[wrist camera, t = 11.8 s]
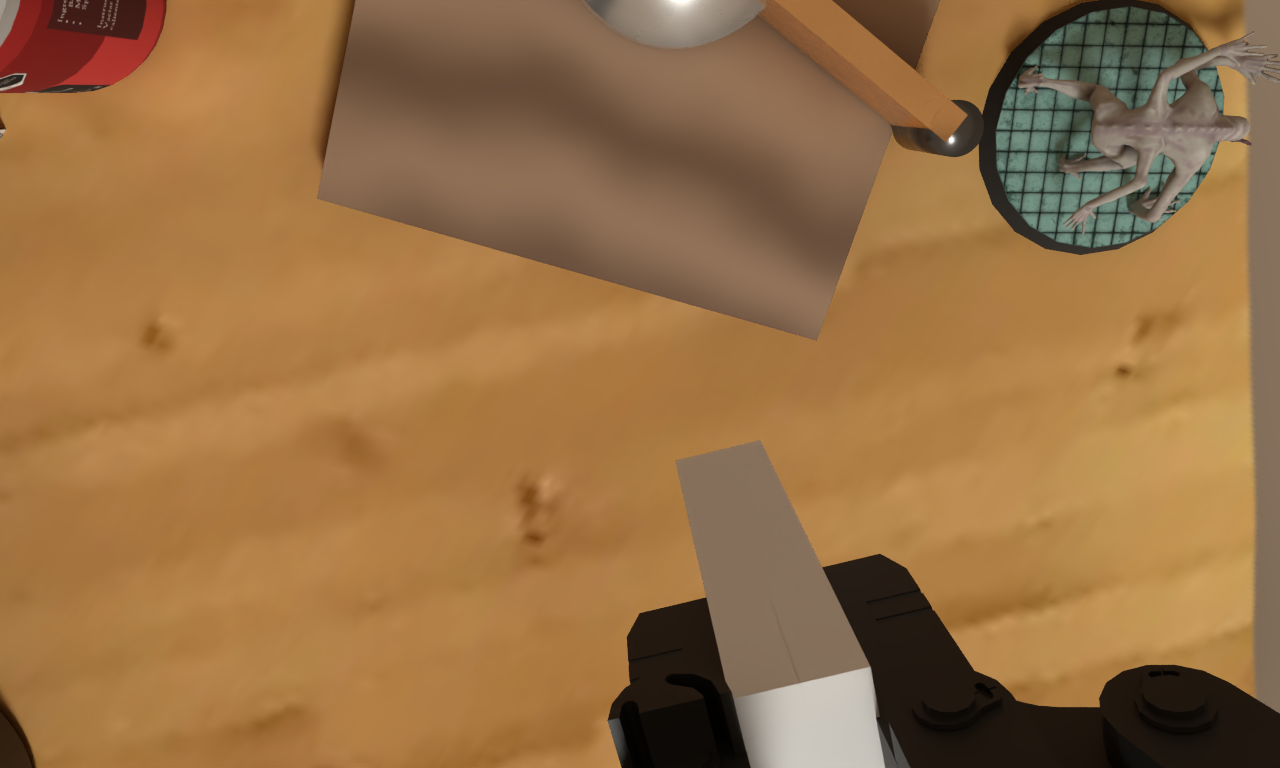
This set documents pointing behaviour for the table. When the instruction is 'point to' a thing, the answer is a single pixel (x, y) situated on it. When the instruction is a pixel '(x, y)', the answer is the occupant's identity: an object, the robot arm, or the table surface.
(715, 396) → the table surface
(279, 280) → the table surface
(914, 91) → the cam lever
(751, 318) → the level stand
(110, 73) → the canned food
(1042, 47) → the figurine
